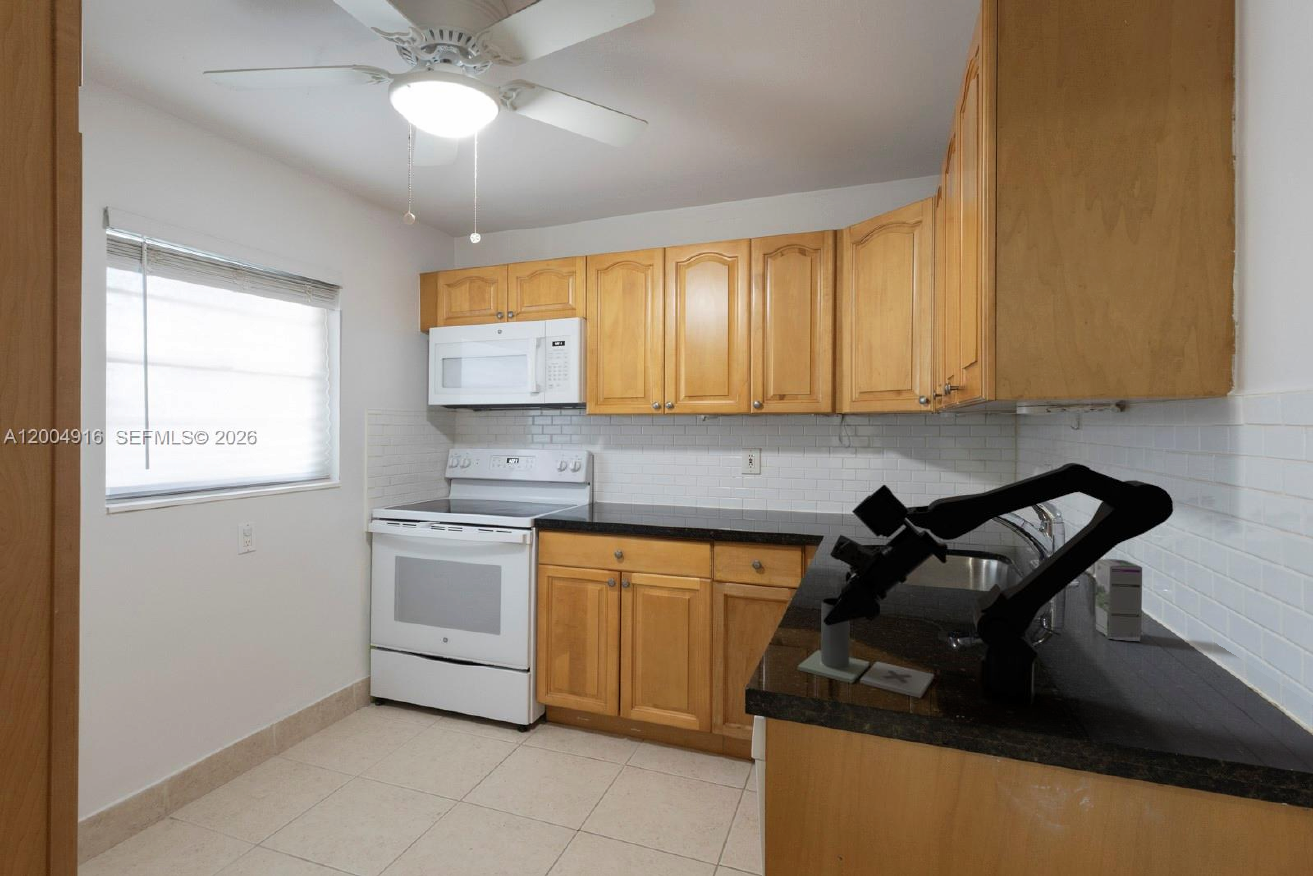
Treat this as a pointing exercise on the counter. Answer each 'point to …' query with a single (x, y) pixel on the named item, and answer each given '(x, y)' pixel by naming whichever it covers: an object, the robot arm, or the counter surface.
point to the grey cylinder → (834, 638)
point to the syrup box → (1118, 598)
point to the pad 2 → (897, 679)
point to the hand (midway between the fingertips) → (827, 618)
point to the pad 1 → (833, 668)
